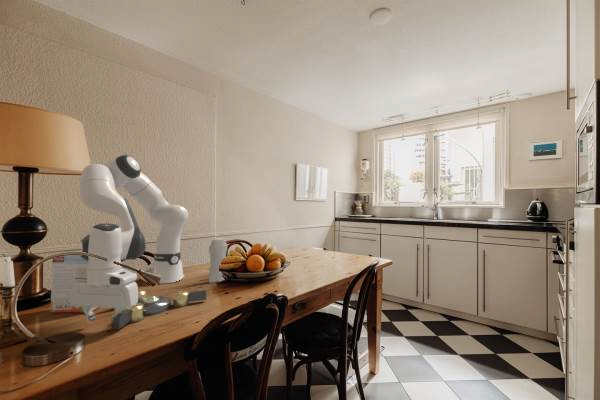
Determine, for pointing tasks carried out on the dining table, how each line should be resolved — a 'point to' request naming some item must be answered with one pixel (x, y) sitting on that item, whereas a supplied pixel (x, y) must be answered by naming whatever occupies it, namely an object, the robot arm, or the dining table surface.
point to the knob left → (187, 297)
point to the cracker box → (66, 281)
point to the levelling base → (155, 304)
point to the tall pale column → (216, 259)
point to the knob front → (128, 316)
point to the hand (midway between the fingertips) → (102, 320)
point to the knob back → (141, 294)
